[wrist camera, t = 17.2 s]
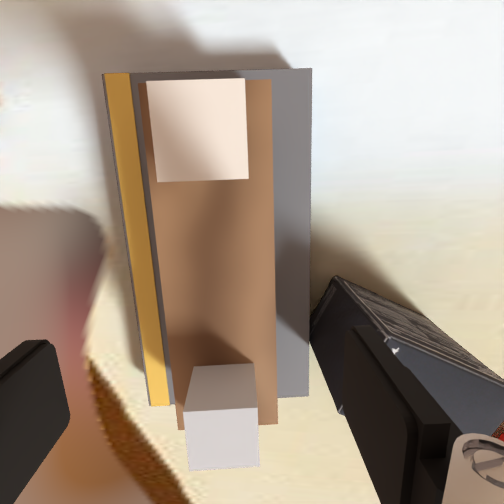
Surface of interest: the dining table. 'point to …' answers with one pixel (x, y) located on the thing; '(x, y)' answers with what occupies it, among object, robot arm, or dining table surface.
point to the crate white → (199, 129)
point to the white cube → (222, 418)
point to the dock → (285, 220)
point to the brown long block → (220, 261)
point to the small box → (407, 355)
